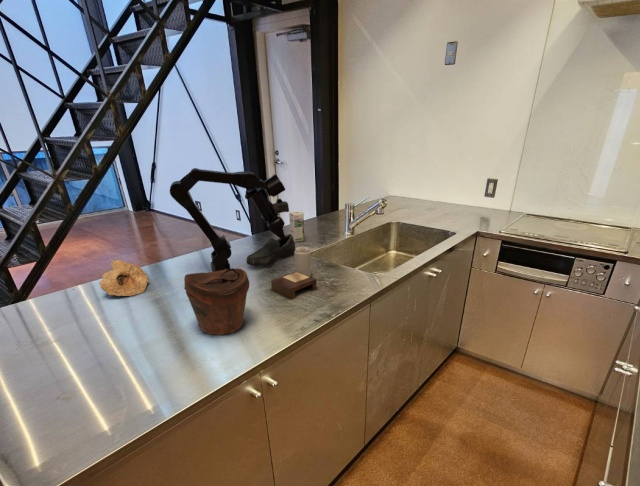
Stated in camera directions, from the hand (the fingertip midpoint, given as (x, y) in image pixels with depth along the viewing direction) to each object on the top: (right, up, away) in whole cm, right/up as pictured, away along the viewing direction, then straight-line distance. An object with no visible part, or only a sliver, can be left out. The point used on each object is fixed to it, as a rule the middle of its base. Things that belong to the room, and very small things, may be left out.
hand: (282, 237), depth 154 cm
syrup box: (+1, +9, +45) cm, 46 cm away
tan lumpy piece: (-55, -23, -15) cm, 62 cm away
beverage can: (+8, -16, 0) cm, 18 cm away
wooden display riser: (+6, -22, -11) cm, 26 cm away
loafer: (-7, -7, +16) cm, 19 cm away
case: (-13, -36, -36) cm, 53 cm away
